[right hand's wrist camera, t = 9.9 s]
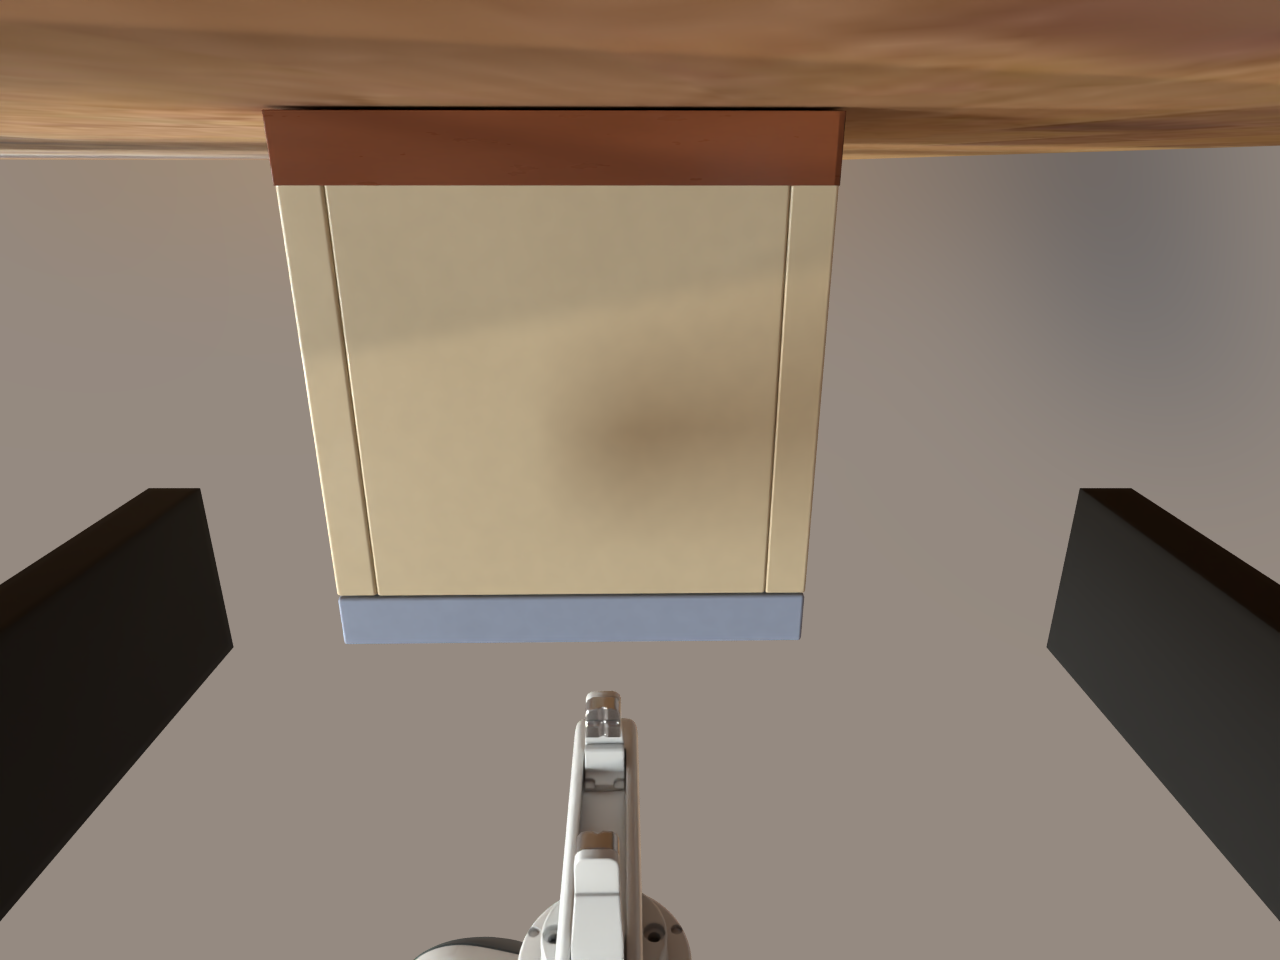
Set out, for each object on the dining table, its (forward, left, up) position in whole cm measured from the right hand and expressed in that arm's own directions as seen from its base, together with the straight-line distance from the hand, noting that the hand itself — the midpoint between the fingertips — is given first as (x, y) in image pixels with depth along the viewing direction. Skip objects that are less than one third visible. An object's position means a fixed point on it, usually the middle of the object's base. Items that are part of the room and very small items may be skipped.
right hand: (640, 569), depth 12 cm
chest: (+4, -12, -7) cm, 14 cm away
